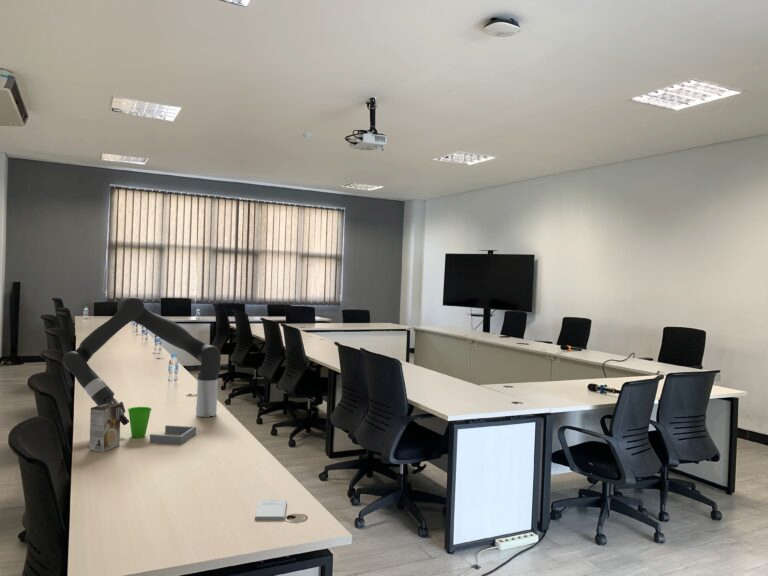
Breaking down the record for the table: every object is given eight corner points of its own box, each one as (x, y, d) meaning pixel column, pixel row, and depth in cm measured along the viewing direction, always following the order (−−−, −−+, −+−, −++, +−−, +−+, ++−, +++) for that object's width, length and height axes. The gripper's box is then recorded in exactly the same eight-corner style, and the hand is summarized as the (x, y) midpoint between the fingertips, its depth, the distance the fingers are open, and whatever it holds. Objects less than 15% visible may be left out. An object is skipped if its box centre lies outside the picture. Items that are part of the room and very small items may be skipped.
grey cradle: (166, 432, 243) (166, 425, 243) (195, 434, 242) (196, 426, 242) (149, 442, 228) (150, 434, 228) (181, 444, 227) (181, 436, 227)
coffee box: (105, 444, 223) (106, 402, 223) (120, 445, 222) (121, 403, 222) (88, 450, 214) (90, 407, 214) (103, 452, 213) (105, 408, 213)
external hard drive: (254, 522, 160) (258, 504, 173) (284, 522, 161) (286, 504, 174) (254, 516, 160) (259, 499, 173) (284, 516, 161) (286, 499, 174)
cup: (155, 434, 239) (156, 408, 239) (139, 440, 230) (141, 412, 230) (137, 432, 241) (138, 405, 241) (121, 437, 233) (122, 409, 233)
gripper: (96, 388, 230) (125, 421, 229) (114, 382, 243) (141, 413, 242) (83, 401, 230) (111, 433, 229) (101, 394, 243) (128, 425, 243)
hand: (126, 423), depth 236 cm, fingers closed
